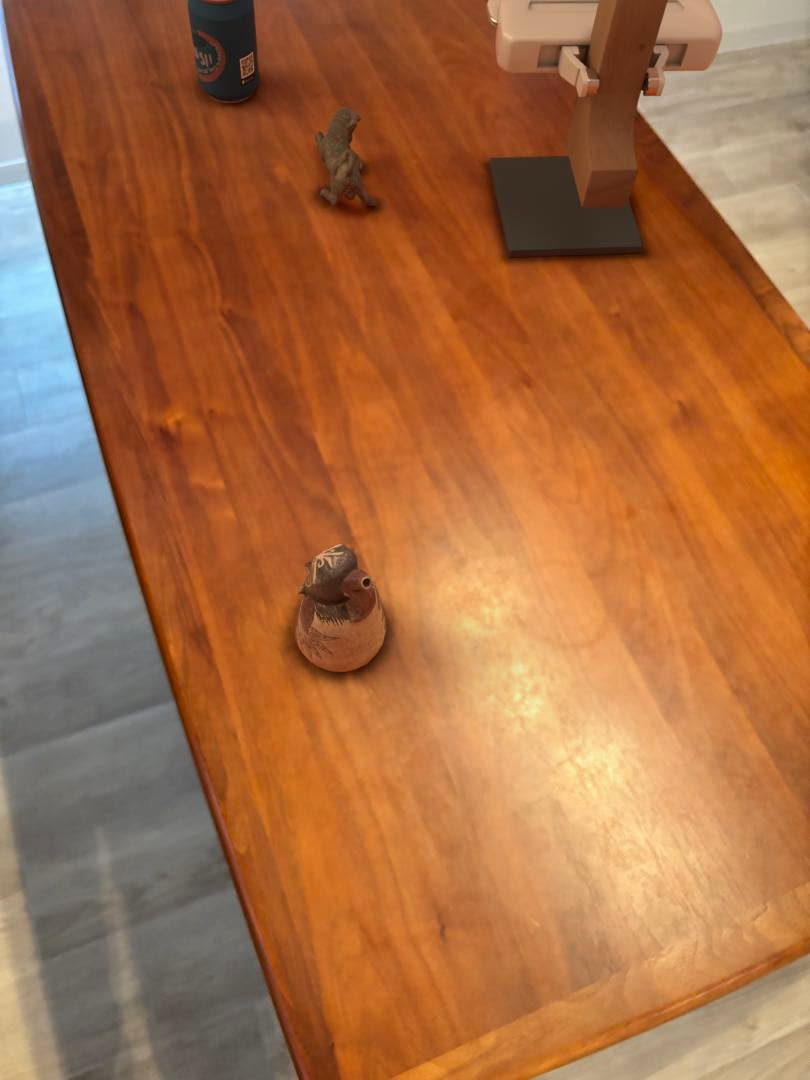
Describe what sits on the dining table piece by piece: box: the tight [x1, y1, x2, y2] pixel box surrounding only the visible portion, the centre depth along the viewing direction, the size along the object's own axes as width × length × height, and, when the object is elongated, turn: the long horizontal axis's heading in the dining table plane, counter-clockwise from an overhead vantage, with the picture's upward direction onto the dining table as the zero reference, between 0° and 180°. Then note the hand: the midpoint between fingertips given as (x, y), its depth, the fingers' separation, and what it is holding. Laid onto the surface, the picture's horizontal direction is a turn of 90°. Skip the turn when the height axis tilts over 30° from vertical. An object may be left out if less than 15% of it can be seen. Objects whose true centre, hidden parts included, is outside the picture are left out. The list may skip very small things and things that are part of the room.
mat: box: [489, 155, 644, 258], centre depth 107 cm, size 14×14×1 cm
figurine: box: [294, 543, 387, 673], centre depth 76 cm, size 7×7×12 cm
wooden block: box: [565, 0, 668, 208], centre depth 89 cm, size 9×4×18 cm, turn 6°
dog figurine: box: [314, 106, 378, 207], centre depth 105 cm, size 12×6×7 cm, turn 9°
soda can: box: [186, 0, 261, 104], centre depth 109 cm, size 7×7×12 cm
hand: (623, 90), depth 87 cm, fingers closed on wooden block, 4 cm apart
